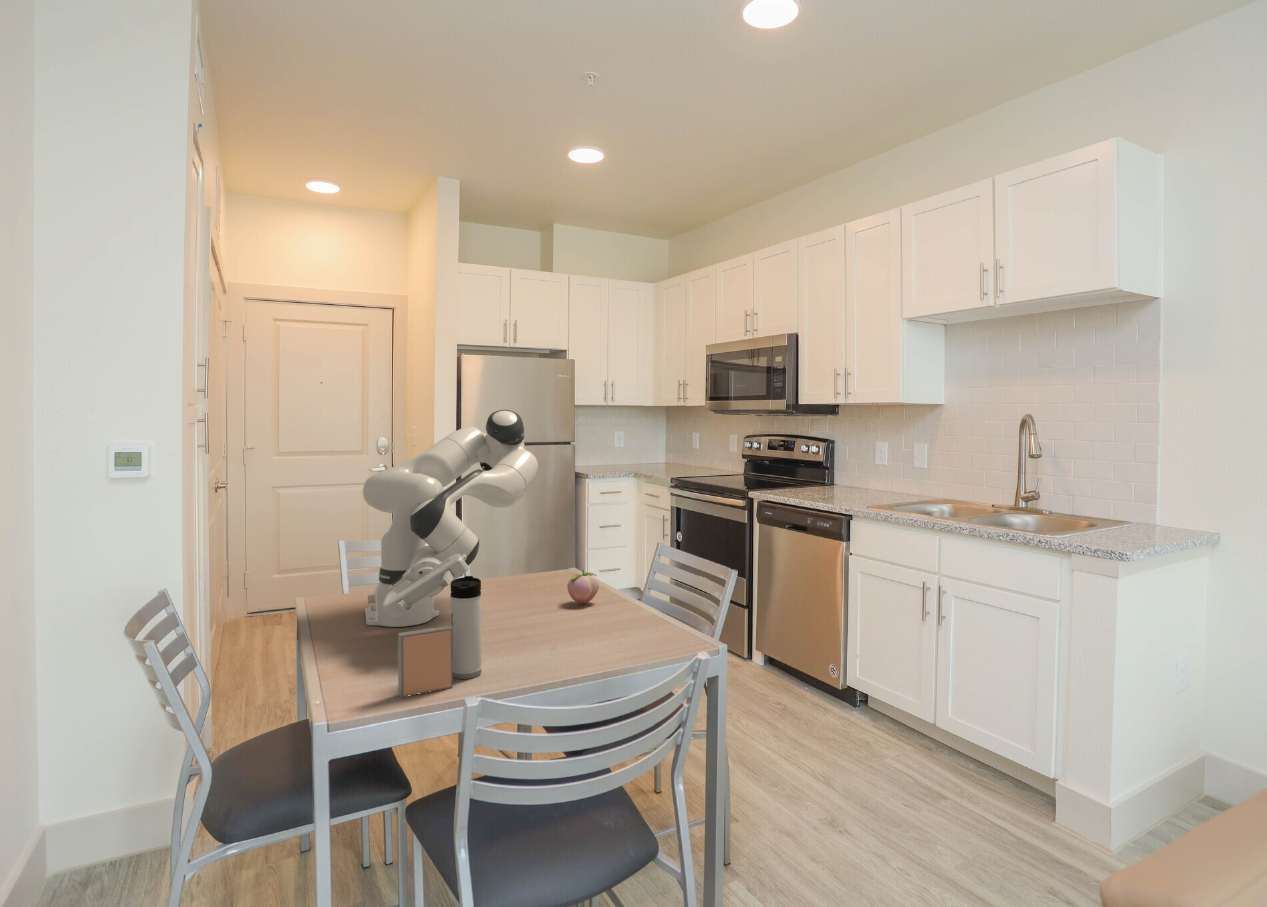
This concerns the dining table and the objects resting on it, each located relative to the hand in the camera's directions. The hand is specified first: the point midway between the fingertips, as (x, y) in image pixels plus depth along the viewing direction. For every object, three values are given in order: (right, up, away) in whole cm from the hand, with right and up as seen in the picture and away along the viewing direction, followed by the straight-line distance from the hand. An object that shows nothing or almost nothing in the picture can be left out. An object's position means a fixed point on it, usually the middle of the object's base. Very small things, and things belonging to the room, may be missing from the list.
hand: (425, 595), depth 156 cm
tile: (+4, -16, -15) cm, 22 cm away
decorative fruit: (+30, -13, +52) cm, 62 cm away
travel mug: (+10, -15, -5) cm, 19 cm away
